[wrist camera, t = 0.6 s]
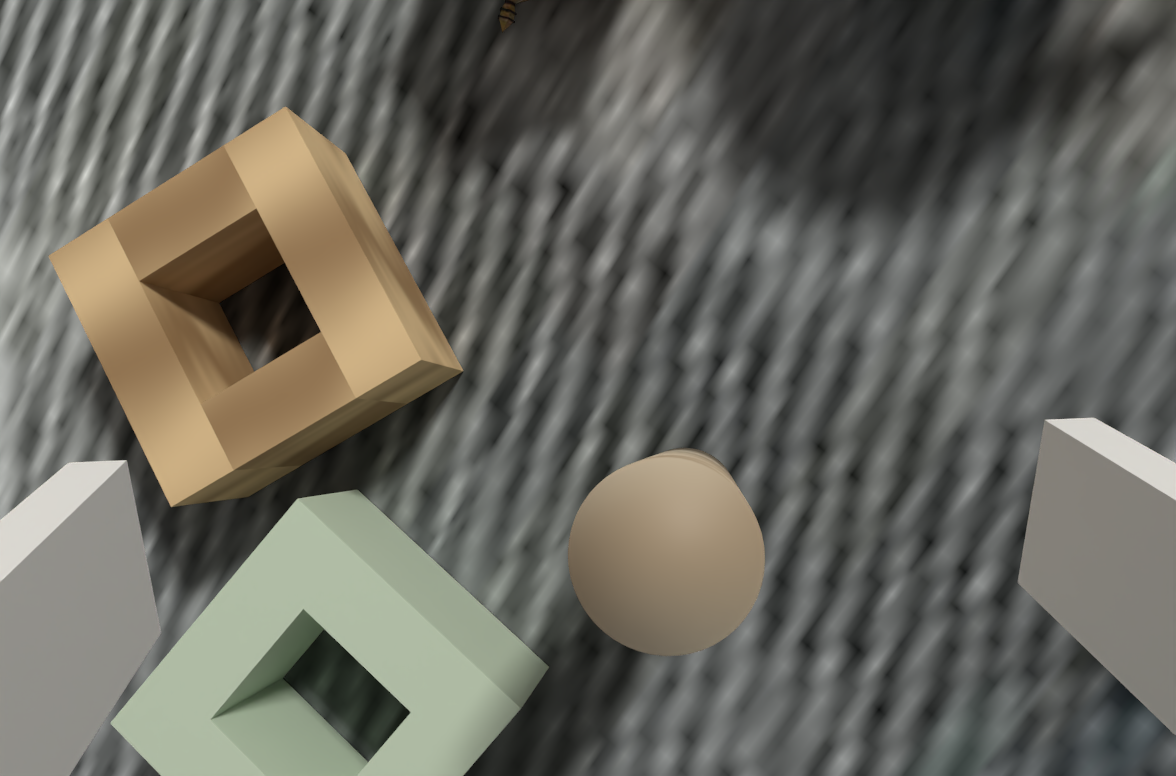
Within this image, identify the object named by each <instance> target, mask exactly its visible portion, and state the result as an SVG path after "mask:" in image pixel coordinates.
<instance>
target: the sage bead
mask: <svg viewBox="0 0 1176 776" xmlns="http://www.w3.org/2000/svg"><path fill="white" fill-rule="evenodd" d="M324 629H325V630H326V631H327V632H328V633H329V634H330V635H331V636H332V637H333V638H334V639H335V640H336V641H337V642H338V643H339V644H340V645H341V646H342V647H344V648H345V649H346V650H347V651H348V652H349V653H350V654H351V655H352V656H353V657H354V658H355V659H356V660H357V661H358V662H359V663H360V664H361V665H362V666H363V667H364V668H365V669H366V670H367V671H368V672H369V673H371V674H372V675H373V676H374V677H375V678H376V679H377V680H378V681H379V682H380V683H381V684H382V685H383V686H384V687H385V688H386V689H387V690H388V691H389V692H390V693H391V694H392V695H393V696H394V697H395V698H396V699H398V700H399V701H400V702H401V703H402V704H403V705H404V706H405V707H406V708H407V709H408V710H409V711H410V712H411V713H410V714H409V715H408V716H407V718H406V719H405V720H404V721H403V722H402V723H401V725H400V726H399V727H398V728H397V729H396V730H395V732H394V733H393V734H392V735H391V736H390V738H389V739H388V740H387V741H386V742H385V743H384V745H383V746H382V747H381V748H380V749H379V750H378V752H377V753H376V754H375V755H374V756H373V757H372V759H371V760H370V761H369V762H367V761H366V760H365V759H364V758H363V757H362V756H361V755H360V754H359V753H358V752H357V751H356V750H355V749H354V748H353V747H352V746H351V745H350V744H349V743H348V742H347V741H346V740H345V739H344V738H343V737H342V736H341V735H340V734H339V733H338V732H337V731H336V730H335V729H334V728H333V727H332V726H331V725H330V724H329V723H328V722H327V721H326V720H325V719H324V718H323V717H322V716H321V715H320V714H319V713H318V712H317V711H316V710H315V709H314V708H313V707H312V706H311V705H309V704H308V703H307V702H306V701H305V700H304V699H303V698H302V697H301V696H300V695H299V694H298V693H297V692H296V691H295V690H294V689H293V688H292V687H291V686H290V685H289V684H288V683H287V682H286V681H285V680H284V679H283V677H284V676H285V675H286V674H287V673H288V671H289V670H290V669H291V668H292V667H293V666H294V664H295V663H296V662H297V661H298V660H299V658H300V657H301V656H302V655H303V654H304V652H305V651H306V650H307V649H308V648H309V647H310V645H311V644H312V643H313V642H314V641H315V639H316V638H317V637H318V636H319V635H320V634H321V632H322V631H323V630H324ZM548 668H549V666H548V665H546V664H545V663H544V662H543V661H542V660H541V659H540V658H539V657H538V656H537V655H536V654H535V653H534V652H532V651H531V650H530V649H529V648H528V647H527V646H526V645H525V644H524V643H523V642H522V641H521V640H519V639H518V638H517V637H516V636H515V635H514V634H513V633H512V632H511V631H510V630H509V629H508V628H506V627H505V626H504V625H503V624H502V623H501V622H500V621H499V620H498V619H497V618H496V617H495V616H494V615H492V614H491V613H490V612H489V611H488V610H487V609H486V608H485V607H484V606H483V605H482V604H481V603H479V602H478V601H477V600H476V599H475V598H474V597H473V596H472V595H471V594H470V593H469V592H468V591H466V590H465V589H464V588H463V587H462V586H461V585H460V584H459V583H458V582H457V581H456V580H455V579H454V578H452V577H451V576H450V575H449V574H448V573H447V572H446V571H445V570H444V569H443V568H442V567H441V566H439V565H438V564H437V563H436V562H435V561H434V560H433V559H432V558H431V557H430V556H429V555H428V554H426V553H425V552H424V551H423V550H422V549H421V548H420V547H419V546H418V545H417V544H416V543H415V542H414V541H412V540H411V539H410V538H409V537H408V536H407V535H406V534H405V533H404V532H403V531H402V530H401V529H399V528H398V527H397V526H396V525H395V524H394V523H393V522H392V521H391V520H390V519H389V518H388V517H386V516H385V515H384V514H383V513H382V512H381V511H380V510H379V509H378V508H377V507H376V506H375V505H374V504H372V503H371V502H370V501H369V500H368V499H367V498H366V497H365V496H364V495H363V494H362V493H361V492H359V491H358V490H351V491H344V492H338V493H331V494H324V495H318V496H311V497H305V498H298V499H297V500H296V501H295V502H294V503H293V505H292V506H291V507H290V508H289V509H288V511H287V512H286V513H285V514H284V515H283V517H282V518H281V519H280V520H279V521H278V523H277V524H276V525H275V526H274V527H273V529H272V530H271V531H270V532H269V533H268V535H267V536H266V537H265V538H264V539H263V541H262V542H261V543H260V544H259V545H258V547H257V548H256V549H255V550H254V551H253V553H252V554H251V555H250V556H249V557H248V559H247V560H246V561H245V562H244V563H243V565H242V566H241V567H240V568H239V569H238V571H237V572H236V573H235V574H234V575H233V577H232V578H231V579H230V580H229V581H228V583H227V584H226V585H225V586H224V587H223V589H222V590H221V591H220V592H219V593H218V595H217V596H216V597H215V598H214V599H213V601H212V602H211V603H210V604H209V605H208V607H207V608H206V609H205V610H204V611H203V613H202V614H201V615H200V616H199V617H198V619H197V620H196V621H195V622H194V623H193V625H192V626H191V627H190V628H189V629H188V631H187V632H186V633H185V634H184V635H183V637H182V638H181V639H180V640H179V641H178V643H177V644H176V645H175V646H174V647H173V648H172V650H171V651H170V652H169V653H168V654H167V656H166V657H165V658H164V659H163V660H162V662H161V663H160V664H159V665H158V666H157V668H156V669H155V670H154V671H153V672H152V674H151V675H150V676H149V677H148V678H147V680H146V681H145V682H144V683H143V684H142V686H141V687H140V688H139V689H138V690H137V692H136V693H135V694H134V695H133V696H132V698H131V699H130V700H129V701H128V702H127V704H126V705H125V706H124V707H123V708H122V710H121V711H120V712H119V713H118V714H117V716H116V717H115V718H114V719H113V720H112V722H111V724H112V725H113V727H114V728H115V729H116V730H117V731H118V732H119V733H120V734H121V735H122V736H123V737H124V738H125V739H126V740H127V741H128V742H129V743H130V744H131V745H132V746H133V747H134V748H135V749H136V750H137V751H138V752H139V753H140V754H141V755H142V756H143V758H144V759H145V760H146V761H147V762H148V763H149V764H150V765H151V766H152V767H153V768H154V769H155V770H156V771H157V772H158V773H159V774H160V775H161V776H463V775H464V774H465V773H466V772H467V771H468V769H469V768H470V767H471V766H472V765H473V764H474V762H475V761H476V760H477V759H478V758H479V757H480V756H481V754H482V753H483V752H484V751H485V750H486V749H487V747H488V746H489V745H490V744H491V743H492V742H493V740H494V739H495V738H496V737H497V736H498V735H499V733H500V732H501V731H502V730H503V729H504V728H505V727H506V725H507V724H508V723H509V722H510V721H511V720H512V718H513V717H514V716H515V715H516V714H517V713H518V711H519V710H520V709H521V708H522V706H523V705H524V703H525V702H526V701H527V699H528V698H529V696H530V695H531V693H532V692H533V690H534V689H535V687H536V686H537V684H538V683H539V681H540V680H541V679H542V677H543V676H544V674H545V673H546V671H547V670H548Z"/></svg>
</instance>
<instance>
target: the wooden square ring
mask: <svg viewBox="0 0 1176 776" xmlns="http://www.w3.org/2000/svg"><path fill="white" fill-rule="evenodd" d="M49 258H50V260H51V262H52V264H53V266H54V268H55V270H56V272H57V274H58V276H59V278H60V281H61V283H62V285H63V287H64V289H65V291H66V293H67V295H68V297H69V299H70V301H71V303H72V305H73V307H74V309H75V311H76V313H77V315H78V317H79V319H80V321H81V324H82V326H83V328H84V330H85V332H86V334H87V336H88V338H89V340H90V342H91V344H92V346H93V348H94V350H95V352H96V354H97V356H98V358H99V360H100V362H101V365H102V367H103V369H104V371H105V373H106V375H107V377H108V379H109V381H110V383H111V385H112V387H113V389H114V391H115V393H116V395H117V397H118V399H119V401H120V403H121V406H122V408H123V410H124V412H125V414H126V416H127V418H128V420H129V422H130V424H131V426H132V428H133V430H134V432H135V434H136V436H137V438H138V440H139V442H140V444H141V447H142V449H143V451H144V453H145V455H146V457H147V459H148V461H149V463H150V465H151V467H152V469H153V471H154V473H155V475H156V477H157V479H158V481H159V483H160V485H161V488H162V490H163V492H164V494H165V496H166V498H167V500H168V502H169V504H170V506H171V507H175V506H183V505H190V504H198V503H206V502H213V501H221V500H228V499H236V498H244V497H249V496H250V495H252V494H254V493H256V492H257V491H259V490H261V489H262V488H264V487H266V486H267V485H269V484H271V483H273V482H274V481H276V480H278V479H279V478H281V477H283V476H285V475H286V474H288V473H290V472H291V471H293V470H295V469H297V468H298V467H300V466H302V465H303V464H305V463H307V462H309V461H310V460H312V459H314V458H315V457H317V456H319V455H321V454H322V453H324V452H326V451H327V450H329V449H331V448H333V447H334V446H336V445H338V444H339V443H341V442H343V441H345V440H346V439H348V438H350V437H351V436H353V435H355V434H357V433H358V432H360V431H362V430H363V429H365V428H367V427H369V426H370V425H372V424H374V423H375V422H377V421H379V420H380V419H382V418H384V417H386V416H387V415H389V414H391V413H392V412H394V411H396V410H398V409H399V408H401V407H403V406H404V405H406V404H408V403H410V402H411V401H413V400H415V399H416V398H418V397H420V396H422V395H423V394H425V393H427V392H428V391H430V390H432V389H434V388H435V387H437V386H439V385H440V384H442V383H444V382H446V381H447V380H449V379H451V378H452V377H454V376H456V375H458V374H459V373H461V372H463V369H462V367H461V366H460V364H459V362H458V360H457V358H456V356H455V355H454V353H453V351H452V349H451V347H450V345H449V343H448V342H447V340H446V338H445V336H444V334H443V332H442V331H441V329H440V327H439V325H438V323H437V321H436V320H435V318H434V316H433V314H432V312H431V310H430V308H429V307H428V305H427V303H426V301H425V299H424V297H423V296H422V294H421V292H420V290H419V288H418V286H417V284H416V283H415V281H414V279H413V277H412V275H411V273H410V272H409V270H408V268H407V266H406V264H405V262H404V260H403V259H402V257H401V255H400V253H399V251H398V249H397V248H396V246H395V244H394V242H393V240H392V238H391V237H390V235H389V233H388V231H387V229H386V227H385V225H384V224H383V222H382V220H381V218H380V216H379V214H378V213H377V211H376V209H375V207H374V205H373V203H372V201H371V200H370V198H369V196H368V194H367V192H366V190H365V189H364V187H363V185H362V183H361V181H360V179H359V177H358V176H357V174H356V172H355V170H354V168H353V166H352V165H351V163H350V161H349V159H348V157H347V155H346V154H345V153H344V152H343V151H342V150H340V149H339V148H338V147H336V146H335V145H334V144H333V143H331V142H330V141H329V140H328V139H326V138H325V137H324V136H322V135H321V134H320V133H319V132H317V131H316V130H315V129H313V128H312V127H311V126H310V125H308V124H307V123H306V122H305V121H303V120H302V119H301V118H299V117H298V116H297V115H296V114H294V113H293V112H292V111H290V110H289V109H288V108H287V107H284V108H282V109H281V110H279V111H278V112H276V113H275V114H273V115H271V116H270V117H268V118H267V119H265V120H263V121H262V122H260V123H259V124H257V125H255V126H254V127H252V128H251V129H249V130H248V131H246V132H244V133H243V134H241V135H240V136H238V137H236V138H235V139H233V140H232V141H230V142H228V143H227V144H225V145H224V146H222V147H221V148H219V149H217V150H216V151H214V152H213V153H211V154H209V155H208V156H206V157H205V158H203V159H202V160H200V161H198V162H197V163H195V164H194V165H192V166H190V167H189V168H187V169H186V170H184V171H182V172H181V173H179V174H178V175H176V176H175V177H173V178H171V179H170V180H168V181H167V182H165V183H163V184H162V185H160V186H159V187H157V188H155V189H154V190H152V191H151V192H149V193H148V194H146V195H144V196H143V197H141V198H140V199H138V200H136V201H135V202H133V203H132V204H130V205H128V206H127V207H125V208H124V209H122V210H121V211H119V212H117V213H116V214H114V215H113V216H111V217H109V218H108V219H106V220H105V221H103V222H101V223H100V224H98V225H97V226H95V227H94V228H92V229H90V230H89V231H87V232H86V233H84V234H82V235H81V236H79V237H78V238H76V239H74V240H73V241H71V242H70V243H68V244H67V245H65V246H63V247H62V248H60V249H59V250H57V251H55V252H54V253H52V254H51V255H49ZM284 263H285V264H286V266H287V268H288V270H289V271H290V273H291V275H292V277H293V279H294V281H295V283H296V285H297V287H298V289H299V291H300V292H301V294H302V296H303V298H304V300H305V302H306V304H307V306H308V308H309V310H310V312H311V313H312V315H313V317H314V319H315V321H316V323H317V325H318V327H319V329H320V331H321V332H320V333H318V334H317V335H315V336H313V337H312V338H310V339H308V340H307V341H305V342H303V343H302V344H300V345H298V346H297V347H295V348H293V349H292V350H290V351H288V352H287V353H285V354H283V355H282V356H280V357H278V358H277V359H275V360H273V361H272V362H270V363H268V364H267V365H265V366H263V367H262V368H260V369H258V370H257V371H255V372H254V371H253V369H252V367H251V365H250V363H249V361H248V359H247V357H246V355H245V353H244V351H243V349H242V347H241V345H240V343H239V341H238V339H237V337H236V335H235V333H234V331H233V329H232V327H231V325H230V324H229V322H228V320H227V318H226V316H225V314H224V312H223V310H222V308H221V306H220V304H219V303H220V302H221V301H223V300H225V299H226V298H228V297H230V296H231V295H233V294H235V293H236V292H238V291H239V290H241V289H243V288H244V287H246V286H248V285H249V284H251V283H253V282H254V281H256V280H257V279H259V278H261V277H262V276H264V275H266V274H267V273H269V272H271V271H272V270H274V269H275V268H277V267H279V266H280V265H282V264H284Z"/></svg>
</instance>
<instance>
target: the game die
mask: <svg viewBox="0 0 1176 776" xmlns="http://www.w3.org/2000/svg"><path fill="white" fill-rule="evenodd" d="M524 1H528V0H505V4H504V5H503V7H501V8H500V11H501V13H500V15H498V19H499V20H500V24H501V28H502V32H503V31H504V30H506V29H507V28H508V27H509V26H510V25H511V24H512V23H515V21H514V16H515V15H516V14H517V13H515V5H516V4H517V3H521V2H524Z"/></svg>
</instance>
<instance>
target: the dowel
mask: <svg viewBox="0 0 1176 776" xmlns="http://www.w3.org/2000/svg"><path fill="white" fill-rule="evenodd" d="M568 563H569V571H570V576H571V580H572V584H573V587H574V590H575V592H576V595H577V597H578V599H579V601H580V603H581V605H582V606H583V608H584V610H585V611H586V613H587V614H588V615H589V617H590V618H591V619H592V620H593V622H594V623H595V624H596V625H597V626H598V627H599V628H600V629H601V630H602V631H603V632H605V633H606V634H607V635H609V636H610V637H611V638H613V639H614V640H615V641H617V642H619V643H621V644H623V645H625V646H626V647H629V648H631V649H634V650H637V651H639V652H643V653H647V654H651V655H660V656H679V655H685V654H691V653H694V652H698V651H701V650H704V649H706V648H708V647H710V646H713V645H715V644H716V643H718V642H719V641H721V640H723V639H724V638H726V637H727V636H728V635H729V634H730V633H732V632H733V631H734V630H735V629H736V628H737V627H738V626H739V625H740V624H741V623H742V622H743V620H744V619H745V618H746V616H747V615H748V613H749V612H750V610H751V609H752V607H753V605H754V603H755V601H756V599H757V597H758V594H759V591H760V588H761V585H762V580H763V575H764V566H765V553H764V543H763V538H762V533H761V530H760V527H759V524H758V521H757V519H756V517H755V515H754V513H753V511H752V509H751V507H750V506H749V504H748V503H747V501H746V499H745V498H744V496H743V494H742V493H741V491H740V490H739V488H738V486H737V485H736V483H735V482H734V480H733V478H732V477H731V475H730V473H729V472H728V470H727V469H726V468H725V467H724V465H723V464H722V463H721V462H720V461H719V460H717V459H716V458H715V457H713V456H712V455H710V454H708V453H706V452H704V451H701V450H698V449H693V448H677V449H671V450H668V451H665V452H663V453H660V454H657V455H654V456H651V457H649V458H646V459H643V460H640V461H637V462H635V463H632V464H629V465H627V466H625V467H623V468H620V469H618V470H616V471H615V472H613V473H612V474H610V475H609V476H607V477H606V478H605V479H604V480H602V481H601V482H600V483H599V484H598V485H597V486H596V487H595V488H594V489H593V490H592V491H591V492H590V494H589V495H588V496H587V498H586V499H585V501H584V502H583V503H582V505H581V507H580V509H579V511H578V513H577V515H576V517H575V520H574V523H573V526H572V529H571V534H570V538H569V547H568Z"/></svg>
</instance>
